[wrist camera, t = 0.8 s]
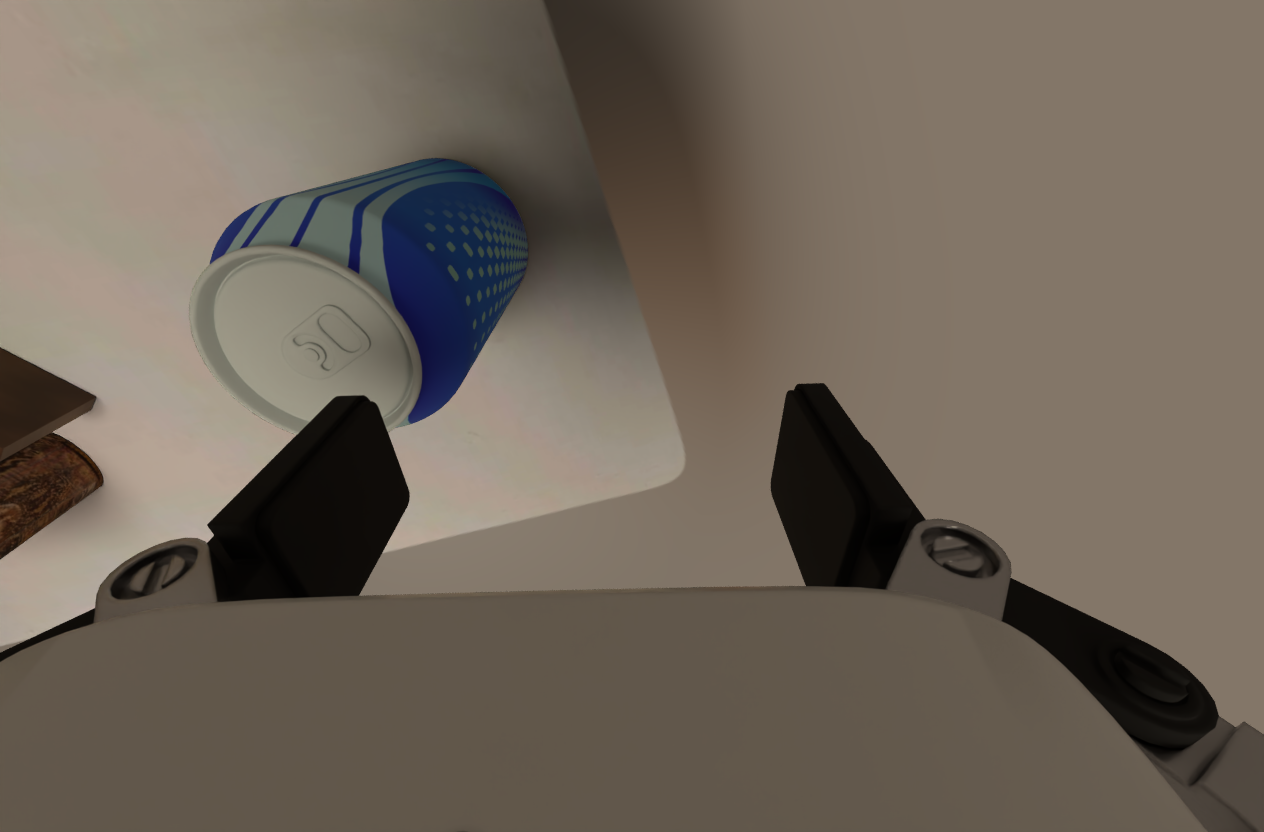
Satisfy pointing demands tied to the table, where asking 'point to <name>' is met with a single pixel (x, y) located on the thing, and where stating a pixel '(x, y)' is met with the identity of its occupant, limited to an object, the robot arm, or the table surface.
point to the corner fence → (34, 403)
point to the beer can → (360, 292)
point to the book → (42, 487)
